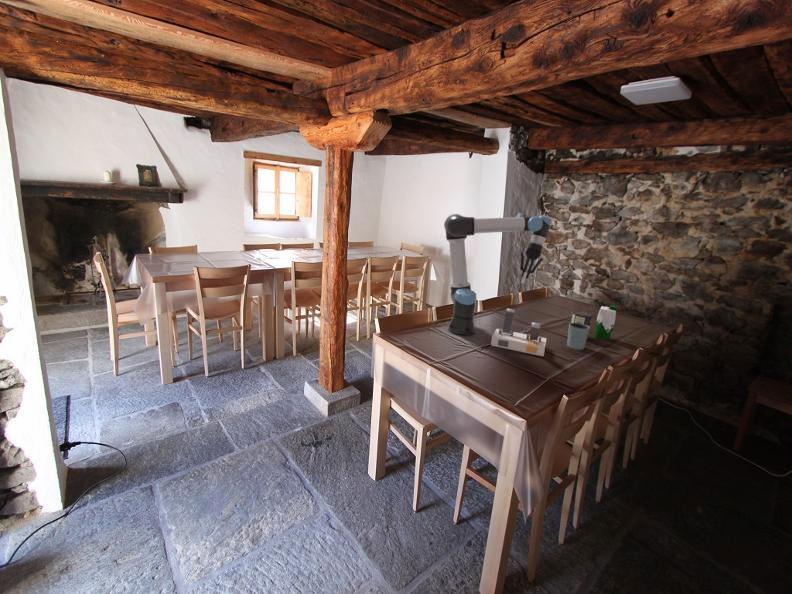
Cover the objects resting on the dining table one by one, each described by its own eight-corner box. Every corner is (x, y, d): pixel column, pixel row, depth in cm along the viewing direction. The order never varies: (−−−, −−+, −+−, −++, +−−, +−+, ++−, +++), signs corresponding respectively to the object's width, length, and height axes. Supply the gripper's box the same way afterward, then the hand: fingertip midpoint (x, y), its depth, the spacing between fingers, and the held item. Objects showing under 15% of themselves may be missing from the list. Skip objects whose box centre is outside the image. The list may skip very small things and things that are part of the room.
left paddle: (502, 330, 203) (506, 307, 205) (502, 331, 205) (507, 308, 207) (510, 332, 202) (514, 309, 204) (510, 333, 204) (514, 310, 206)
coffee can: (584, 334, 229) (589, 311, 225) (589, 340, 219) (594, 316, 215) (566, 331, 231) (571, 309, 227) (570, 337, 221) (575, 314, 217)
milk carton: (610, 341, 219) (617, 308, 214) (592, 338, 223) (599, 305, 218) (610, 337, 226) (618, 305, 221) (593, 334, 230) (600, 302, 225)
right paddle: (529, 339, 197) (531, 325, 188) (530, 335, 198) (532, 321, 189) (537, 341, 195) (539, 326, 186) (538, 337, 197) (540, 322, 187)
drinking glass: (575, 351, 201) (580, 329, 198) (560, 343, 210) (564, 323, 207) (589, 349, 205) (594, 328, 202) (574, 342, 214) (578, 321, 211)
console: (490, 345, 200) (492, 332, 198) (495, 337, 213) (497, 324, 211) (543, 356, 191) (545, 342, 189) (544, 347, 203) (547, 334, 201)
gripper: (548, 247, 218) (534, 287, 221) (525, 241, 223) (512, 280, 227) (547, 246, 211) (532, 286, 214) (524, 239, 216) (510, 279, 220)
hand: (522, 283), depth 220 cm, fingers closed
